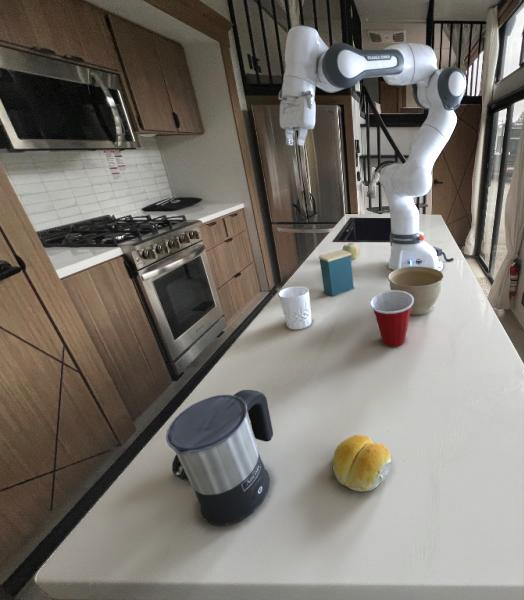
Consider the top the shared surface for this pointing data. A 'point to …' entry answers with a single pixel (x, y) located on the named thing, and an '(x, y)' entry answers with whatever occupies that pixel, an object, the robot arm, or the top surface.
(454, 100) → the robot arm
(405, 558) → the top surface
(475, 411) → the top surface
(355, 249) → the fruit
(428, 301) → the planter bowl
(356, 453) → the bread roll
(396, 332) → the plastic cup
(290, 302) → the white cup
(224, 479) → the milk frother
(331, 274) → the teal and cream block
